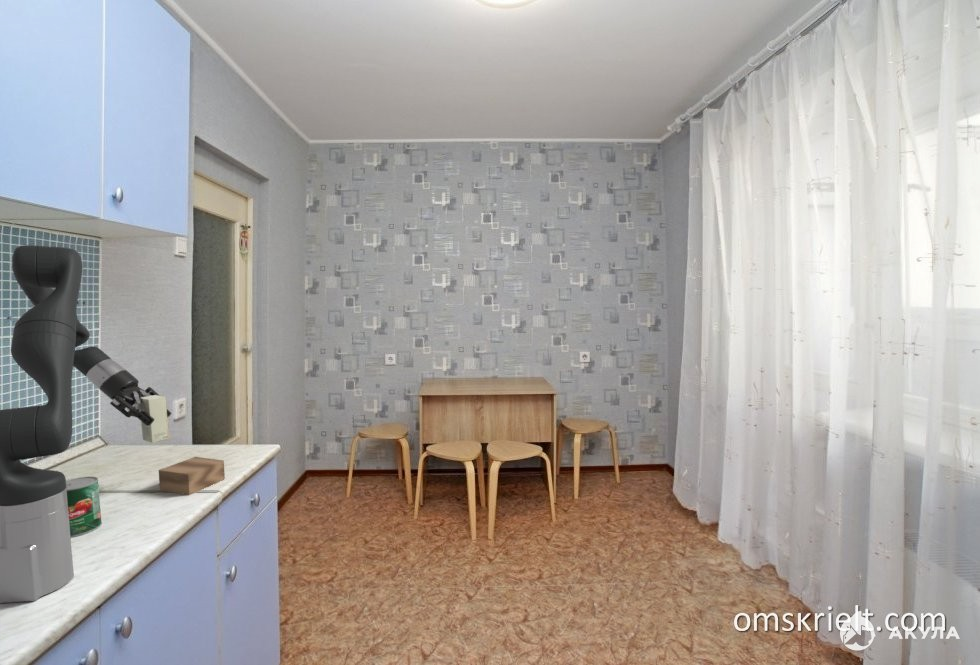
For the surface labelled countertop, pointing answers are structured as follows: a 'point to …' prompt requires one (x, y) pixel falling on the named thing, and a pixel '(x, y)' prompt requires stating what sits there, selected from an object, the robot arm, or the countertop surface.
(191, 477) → the walnut block
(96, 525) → the canned tomato
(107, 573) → the countertop surface
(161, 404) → the skincare box
